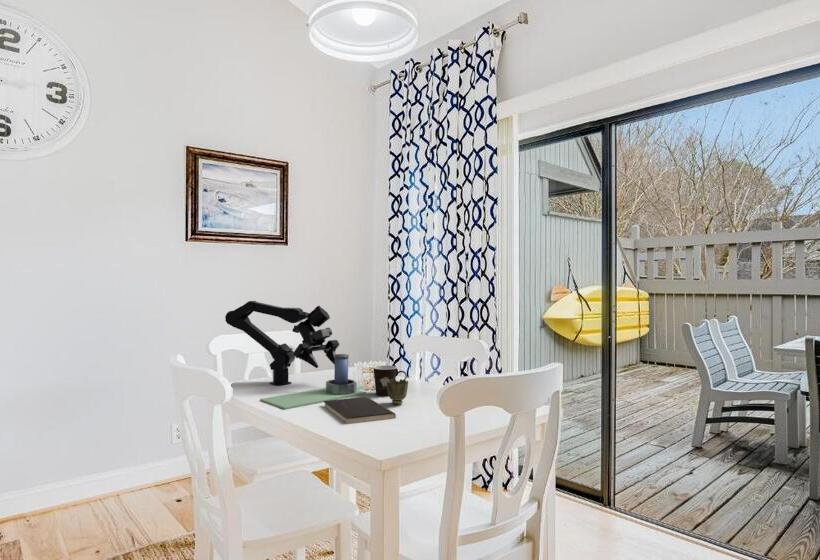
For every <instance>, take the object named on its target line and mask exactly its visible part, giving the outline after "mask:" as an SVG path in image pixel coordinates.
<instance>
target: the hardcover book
mask: <svg viewBox="0 0 820 560" xmlns="http://www.w3.org/2000/svg"><path fill="white" fill-rule="evenodd" d="M323 403H324V407H326V408H327V409H328V410H329V411H330V412H332V413H333V414H334V415H336V416H337V417H338V418H340V419H341V420H342V421H344V423H346V424H356V423H357V424H358V423H364V422H373V421H380V420H389V419H396V417H397V416H396V415H397V414H396V413H395V412H393V411H392V410H390V409H389V408H387V407H385V406H384V405H382V404H380V403H378V402H377V401H375V400H373V399H372V398H370V397H368V396H360V397H347V398H341V399H336V400H328V401H324V402H323Z"/></svg>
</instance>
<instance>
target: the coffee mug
mask: <svg viewBox="0 0 820 560" xmlns="http://www.w3.org/2000/svg"><path fill="white" fill-rule="evenodd" d="M397 368H398V367H397V366H394V365H387V364H385V365H376V366H373V376H374V377H373V378H374V387H375V395H376V396H377V397H383V398H385V397H389V396H388V391H387V380H388V381H389V380H390V381H391V379H393V380H395V379H396V378H397V376H398V374H400V373H403V374H404V375H405V377H404V379H405V380H407V378H408V377H407V376H408V375H407V372H406V371H404V370H398V371H397Z"/></svg>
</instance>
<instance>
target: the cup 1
mask: <svg viewBox="0 0 820 560" xmlns="http://www.w3.org/2000/svg"><path fill="white" fill-rule="evenodd" d="M355 381H356V380H355ZM355 381H354V379H349V378H348V384H341V385H339V384H334V379H328V380H326V381H325V388H326V392H327V393H329V394H334V395H346V394H352V393H355V392H356V390H357V383H358V382H357V381H356V382H355Z"/></svg>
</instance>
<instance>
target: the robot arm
mask: <svg viewBox="0 0 820 560" xmlns="http://www.w3.org/2000/svg"><path fill="white" fill-rule="evenodd" d="M253 312H255V313H259V314H263V315H264V314H265V315H269V316H272V317H277V318H280V319H281V320H283V321H286V322H288V323H291V324H296V323H297V324H296V325H293V328H292V332H294V333H295V334H300V336H301V338H302V341H301V343H299V344H298V345H297V347H295V349H294V350H293V347H290V346H289V345H288V344H287V343H282V344H279V343H278V342H276V341H275V340H274V339H273V338H271V337H270V336H269V335H267V334H266V333H265V332H264V331H262V330H261V329H260V328H258V327H257V326H256V325H255V324H253V322H251V319H250V318H249V316H250V315H251V314H253ZM224 318H225V322H226V323H227V325H230V326H231V327H233V328H235V329H237V330H240V331H242V332H244V333H245V334H246V335H248V336H249V337H250V338H251V339H252V340H254V341H255V342H256V343H258V344H259V345H260V346H261V347H262V348H264V349H265V350H266V351H267V352H269V354H270V355H271V358H272V359H273V361H272V362H270V364H269V367H270V370H272V381H269V384H271V385H274V386H284V385H291V384H292V381H289V374H290V373H289V368H290V367H291V365H292V363H293V362H294V361H295V359H299V360H301V361H303V362H306V363H307V364H309V365H311V366H312V367H314V368H315V369H317V368H319V365H318V364H319V363H318V362H317V360H316V358H315V356H314V355H313V352H320V351H321V352H322V351H323V353H324V354H325V357H326V358H328V360H329V361H330V362H331V363H332V364H333V365H334V366H335V358H334V355H336V354H337V353H336V350H337V349H338V347H339V346H340V342H339V340H338V339H331V340H327V342H326V339H327V338H330V337H331V336H332V335H333V331H332V329H331V328H330V327H326V328H321V329H318V330H316V329H315V328H316V327H317V328H320V327H322V325H324V324H325V323H326V322H327V321H329V320H330V319H331V317H330V314H329V313H328V312H327V310H325V309H324V308H323V307H321V306H320V305H317V306H316V307H314V309H313V310H311V311H310V312H306V311H304V310H303V309H302V308H301V307H282V306H277V305H272V304H268V303H264V302H260V301H259V302H258V301H256V300H249V301H246V302H245V303H244V304H243V305H241V306H239V307H237V308H236V309H234V310H230V311H228V312H227V313H226V314H225V316H224ZM323 343H325V344H323Z"/></svg>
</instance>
